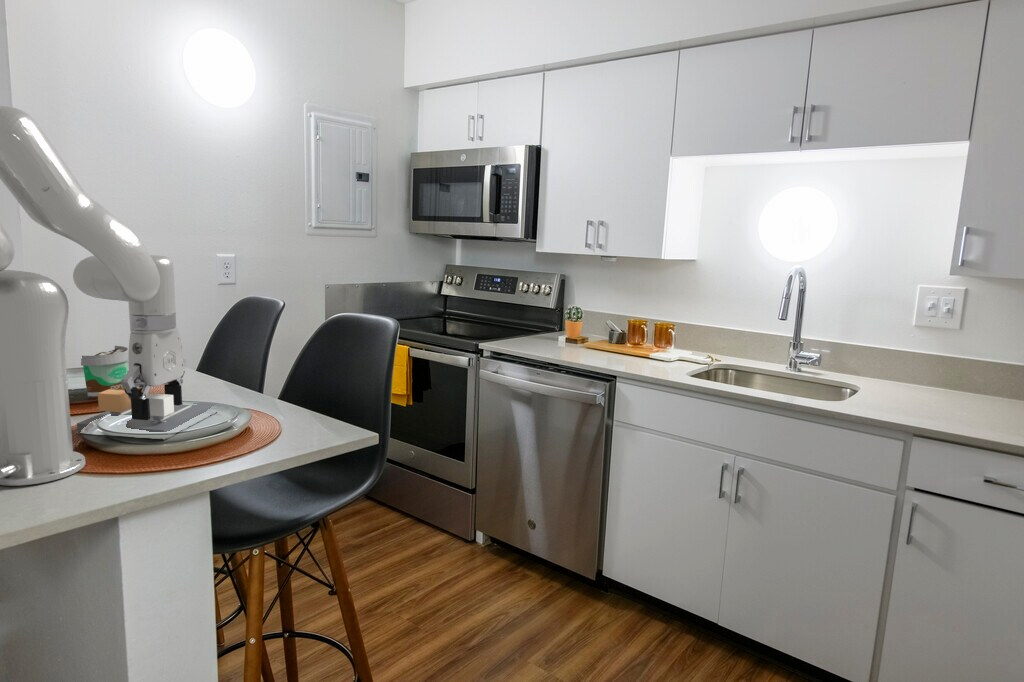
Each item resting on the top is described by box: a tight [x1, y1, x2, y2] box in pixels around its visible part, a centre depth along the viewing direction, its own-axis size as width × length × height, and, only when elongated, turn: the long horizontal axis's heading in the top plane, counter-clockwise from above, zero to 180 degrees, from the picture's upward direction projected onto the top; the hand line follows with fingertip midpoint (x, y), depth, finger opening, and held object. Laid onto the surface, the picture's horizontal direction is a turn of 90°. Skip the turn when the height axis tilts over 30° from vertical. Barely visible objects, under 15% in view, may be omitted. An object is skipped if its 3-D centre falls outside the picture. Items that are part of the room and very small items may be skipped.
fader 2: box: [146, 393, 174, 421], centre depth 122 cm, size 3×4×5 cm
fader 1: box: [97, 389, 131, 416], centre depth 123 cm, size 3×4×5 cm
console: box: [76, 400, 218, 435], centre depth 128 cm, size 18×17×2 cm
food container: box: [80, 345, 129, 401], centre depth 144 cm, size 12×6×10 cm, turn 179°
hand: (158, 411), depth 122 cm, fingers open, 9 cm apart
